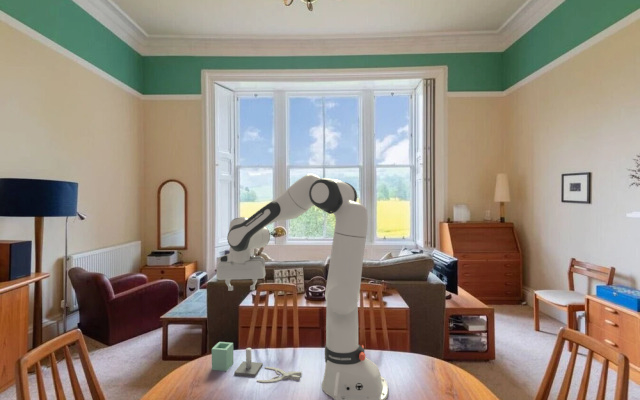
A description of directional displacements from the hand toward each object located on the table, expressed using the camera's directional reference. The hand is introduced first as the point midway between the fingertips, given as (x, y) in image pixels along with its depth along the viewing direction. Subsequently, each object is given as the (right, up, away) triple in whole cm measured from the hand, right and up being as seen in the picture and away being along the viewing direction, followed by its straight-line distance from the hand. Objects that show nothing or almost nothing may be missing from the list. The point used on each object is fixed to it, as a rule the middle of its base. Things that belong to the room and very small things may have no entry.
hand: (241, 290), depth 136 cm
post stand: (+6, -27, -12) cm, 30 cm away
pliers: (+18, -28, -16) cm, 37 cm away
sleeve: (-5, -27, -9) cm, 29 cm away
